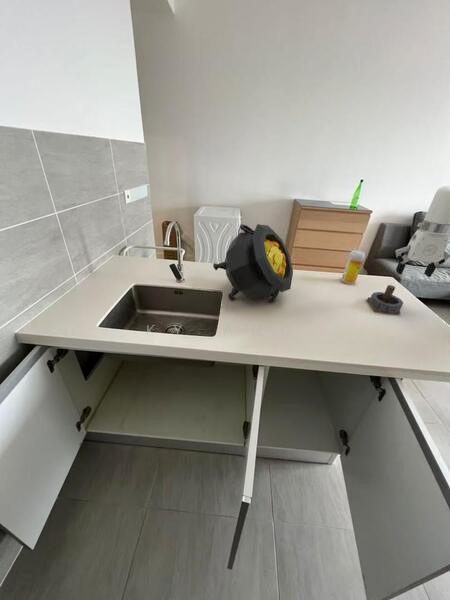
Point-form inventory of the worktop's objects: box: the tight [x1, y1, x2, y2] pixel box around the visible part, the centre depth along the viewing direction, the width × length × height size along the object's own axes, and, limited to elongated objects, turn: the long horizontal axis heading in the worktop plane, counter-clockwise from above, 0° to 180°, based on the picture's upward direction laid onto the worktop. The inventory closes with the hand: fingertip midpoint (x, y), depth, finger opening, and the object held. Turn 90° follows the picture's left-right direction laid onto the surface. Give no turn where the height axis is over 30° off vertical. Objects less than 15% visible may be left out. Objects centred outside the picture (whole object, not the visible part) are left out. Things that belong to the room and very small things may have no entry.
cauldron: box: [212, 223, 294, 303], centre depth 95 cm, size 28×28×24 cm
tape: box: [370, 291, 404, 312], centre depth 97 cm, size 11×11×2 cm
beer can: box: [341, 249, 366, 285], centre depth 113 cm, size 6×6×15 cm
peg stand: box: [366, 284, 401, 316], centre depth 96 cm, size 9×9×10 cm
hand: (412, 274), depth 90 cm, fingers open, 9 cm apart
